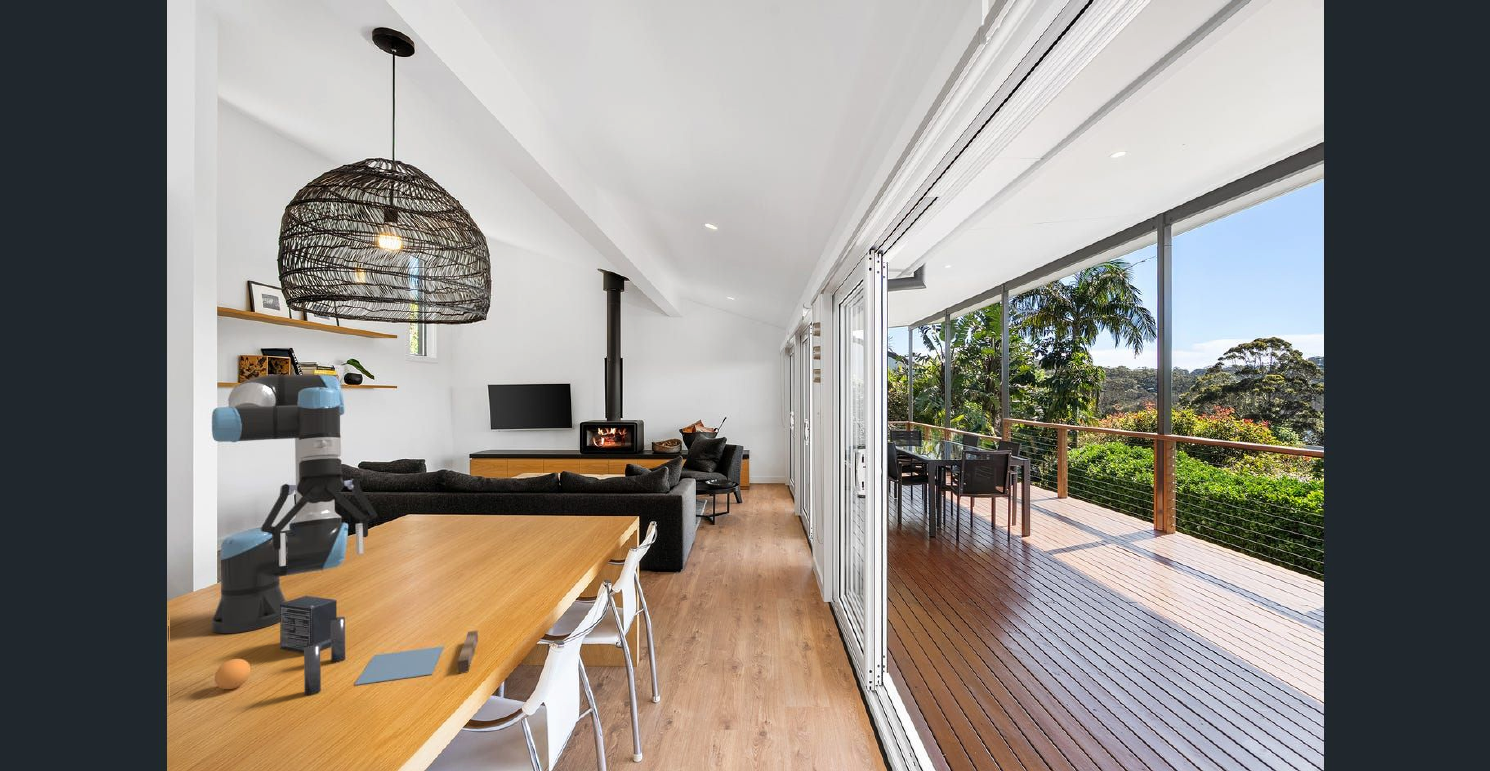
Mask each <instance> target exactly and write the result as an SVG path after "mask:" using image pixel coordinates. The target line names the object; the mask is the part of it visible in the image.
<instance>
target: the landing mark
mask: <svg viewBox="0 0 1490 771" xmlns="http://www.w3.org/2000/svg"><path fill="white" fill-rule="evenodd" d="M444 648H445V646H444V645H443V646H435V647H429V648H428V647H426V648H420V649H412V650H404V651H397V652H389V653H382V654H374V655H373V657H372V658H371V659H370V661H369V662H368V664H367V666H365V668H364V669H363V671H362V672H361V674H360V676H359V677H358V678H357V680H356V682H355V683H354V687H355V686H360V685H361V686H362V685H368V684H376V683H384V682H390V681H397V679H399V680H404V679H410V678H419V676H420V677H426V676H425V675H427V676H432V675H433V674H434V671H435V669H436V667H435V666H437V664H438V663H439V660H440V658H439V657H441V655H442V652H443V651H442V650H444ZM431 674H432V675H431Z"/></svg>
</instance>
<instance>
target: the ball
mask: <svg viewBox="0 0 1490 771" xmlns="http://www.w3.org/2000/svg"><path fill="white" fill-rule="evenodd" d="M251 668H252V667H251V665H250V664H249V662H248V661H247V660H245V659H241V658H232V659H229V660H227V661H225V662H224V663H222V664H221V665H220V666H219V667H218V669H217V670H216V672H215V674H214V682H215V684H216V686H218V687H219V688H220V689H223V690H232V689H236V688H238V687H240V686H242V685H243V684H244V683H246V682H247V681H248V679H249V677H250V675H251V671H252V669H251Z"/></svg>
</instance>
